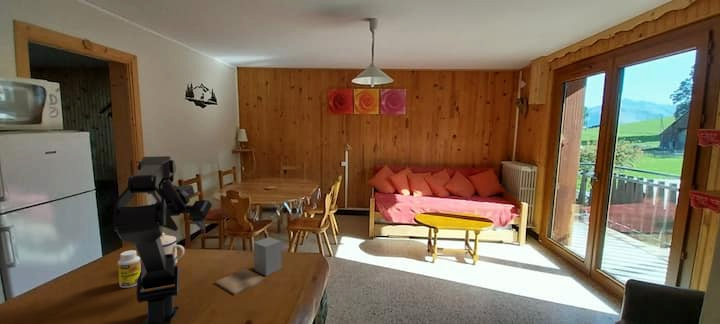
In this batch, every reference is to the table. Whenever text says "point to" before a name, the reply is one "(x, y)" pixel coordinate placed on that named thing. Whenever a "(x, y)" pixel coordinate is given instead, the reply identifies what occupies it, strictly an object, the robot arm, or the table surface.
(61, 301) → the table surface
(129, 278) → the supplement bottle
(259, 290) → the table surface
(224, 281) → the light tan board
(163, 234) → the teacup with lid
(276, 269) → the sharp-edged grey box
